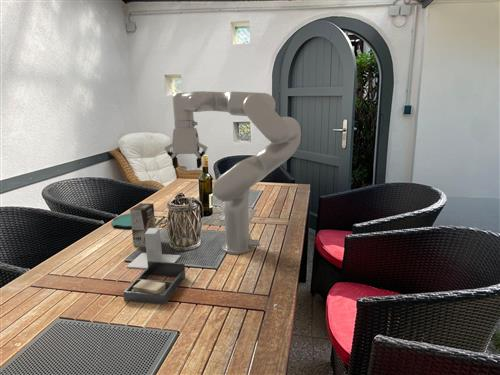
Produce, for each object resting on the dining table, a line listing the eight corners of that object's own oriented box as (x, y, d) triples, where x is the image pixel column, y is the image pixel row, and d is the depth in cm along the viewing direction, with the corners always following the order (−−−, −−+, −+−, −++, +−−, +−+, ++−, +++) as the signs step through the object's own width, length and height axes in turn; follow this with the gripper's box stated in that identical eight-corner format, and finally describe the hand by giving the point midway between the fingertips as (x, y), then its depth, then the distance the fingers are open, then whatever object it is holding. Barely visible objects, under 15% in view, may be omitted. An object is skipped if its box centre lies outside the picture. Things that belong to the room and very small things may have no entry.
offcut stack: (167, 295, 115) (166, 283, 114) (159, 303, 110) (158, 291, 109) (140, 290, 118) (139, 279, 117) (131, 298, 113) (130, 286, 112)
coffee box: (147, 247, 151) (143, 209, 147) (133, 246, 152) (129, 209, 148) (157, 238, 160) (154, 203, 156) (143, 238, 161) (140, 202, 157)
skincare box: (151, 257, 140) (148, 227, 137) (162, 257, 140) (159, 227, 137) (147, 264, 134) (144, 233, 131) (158, 264, 134) (156, 233, 131)
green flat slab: (123, 215, 192) (122, 211, 191) (179, 217, 189) (179, 213, 188) (104, 229, 173) (104, 225, 172) (166, 232, 170) (166, 227, 169)
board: (180, 256, 142) (180, 255, 142) (168, 270, 130) (168, 269, 130) (142, 253, 145) (142, 252, 145) (126, 267, 133) (126, 266, 133)
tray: (185, 276, 126) (184, 263, 124) (165, 304, 109) (163, 289, 108) (149, 274, 128) (148, 261, 127) (124, 300, 112) (122, 285, 111)
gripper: (208, 123, 147) (210, 165, 151) (166, 124, 149) (170, 166, 154) (203, 125, 140) (205, 169, 144) (159, 126, 142) (163, 169, 146)
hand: (187, 167), depth 149 cm, fingers open, 9 cm apart
